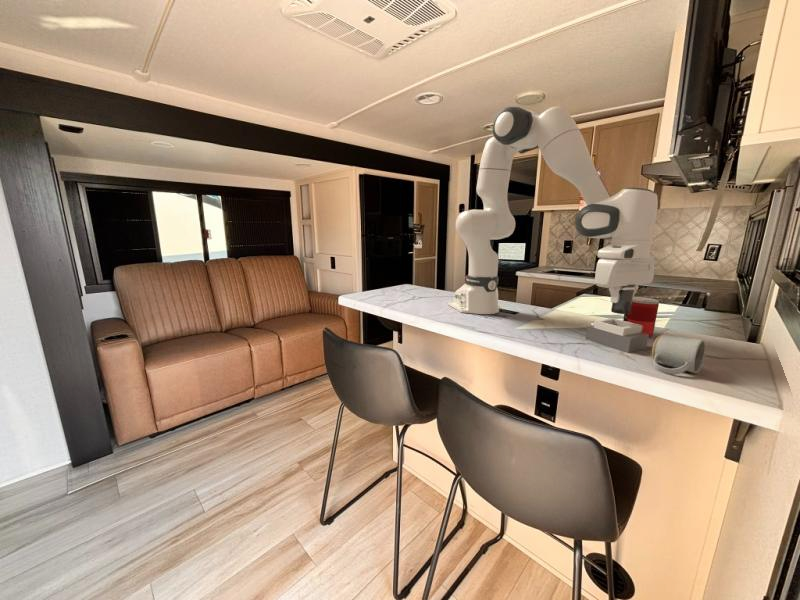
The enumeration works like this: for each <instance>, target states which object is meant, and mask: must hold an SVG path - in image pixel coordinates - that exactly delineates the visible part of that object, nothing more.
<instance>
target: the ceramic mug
mask: <svg viewBox="0 0 800 600" xmlns="http://www.w3.org/2000/svg"><path fill="white" fill-rule="evenodd" d="M705 353H706V342H705V340H704V339H701V338H700V339H699V338H693V337H687V336H679V335H673V334H659V335H658V336H657V337H656V338H655V340H654V342H653V344H652V349H651V357H652V359H653V366H654V368H655V369H656V370H657V371H658V372H661V373H664V374H666V375H667V374H668V375H680V374H682V373H684V372H688V373H691V374H696V373H698V372H699V371H700V370H701V368H702V366H703V363H704V358H705ZM659 364H661V365H663V366H661V365H659ZM664 366H667V367H664ZM669 367H671V368H669Z"/></svg>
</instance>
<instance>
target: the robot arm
mask: <svg viewBox="0 0 800 600" xmlns="http://www.w3.org/2000/svg"><path fill="white" fill-rule="evenodd" d="M492 134H493V136H492V137H490V138H488V140H487V141H486V142H485V145H484V148H483V152H482V155H481V158H480V164H479V169H478V177H477V183H476V188H475V189H476V190H475V191H476V194H477V195H478V197H480V199H481V201H482V204H483V209H469V210H465V211H462V212H460V213H459V214H458V216H457V218H456V220H455V231H456V233H457V235H458V237H460V238H461V239H462V240H463V243H465V244H464V245H466V249H467V254H468V274H467V275H463V276H464V278H463V279H465V281H464V284H463V285H462V286H461V287H459V288H457V290H456V291H455V292H454V295H453V296H454V297H453V300H452V301H448V303H447V305H448V306H450V307H452V308H453V309H455V310H456V311H458V312H460V313H463V314H464V313H465V314H477V315H493V314H494V315H495V314H498V313H499V312H500V308H501V307H500V305H499V289H498V287H497V286H498V285H499V276H498V272H499V271H498V270H499V255H498V253H497V252H496V251H494V250H493V248H492V245H491V240H502V239H505V238H509V237H510V236H511V235H513V233H514V231H515V230H516V229H515V228H516V220H515V219H516V218H515V217H514V216H513V214H512V213H511V211H510V206H509V203H508V202H509V201H508V192H509V191H508V190H509V183H510V178H511V171H512V166H513V165H512V164H513V160H514V157H515V155H516V154H518V153H519V154H522V155H523V154H526V153H527V152H528V153H529V152H530V151H534V150H538V149H539V150H540V153H541V156H542V159H544V161H545V163H546V164H547V166H548V167H549V169H550V170H551V172H553V174H555V175H556V176H558V177H561V178H563V179H565V180H566V181H568V182H569V183H570V184H572V185H574V186H575V188H576V189H577V190H578V192H579V194H580V196H581V197H582V199H583V200H584V203H585V204H586V205H585V206H584V207H582V208H581V209H580V210H579V211H578V212H577V214H576V216H575V218H574V219H575V220H574V226H575V229H576V232H577V233H578V234H579V235H581V236H583V237H586V238H589V239H601V240H602V239H603V240H606V241H607V240H608V241H609V240H610V241H611V242H610V243H609V244H608V245H606V246H604V247H602V248H600V249H599V250H598V251H597V258H599V259H598V261H597V262H596V267H595V276H594V283H595V285H596V287H600V288H605V289H606V288H607V289H608V291H609V294H610V302H611V303H612V302H614V303H618V302H620V301H621V300H620V299H621V296H619V291H620V288H621V287H622V286H628V285H635V290H634V294H633V299H634V297H635V294H637V291H638V289H639V287H640V286H639V285H648V284H649V285H650V284H651V283H652V282H653V280H654V277H655V266H656V263H655V259H654V257H653V254H652V252H651V251H652V246H653V229H654V226H655V225H656V221H657V217H658V205H659V202H658V201H659V200H658V194H657V193H656V192H655V191H654V190H651V189H649V188H644V187H643V188H642V187H626V188H623V189H621V190H620V191H618V192H617V193H616V194H614V195H611V194H610V192H609V191H608V188H607V187H606V184H605V183H604V181H603V180H602V178H601V176H600V174H599V173H598V171H597V169H596V166H595V163H594V161H593V159H592V157H591V153H590V152H589V148H588V146H587V143H586V141H585V138H584V137H583V134H582V132H581V130H580V128H579V125H578V124H577V123H576V121H575V120H574V118H573V117H572V115H570V113H569V111H567V110H566V109H565V108H564V107H562V106H558V105H557V106H552V107H549V108H547V109H546V110H544V111H543V112H542V113H539V114H538V113H537V112H535V111H533V110H530V109H525V108H522V107H520V106H509V107H505V108H503V109H501V110H500V111H499V112H498V113H497V115H496V116H495V118H494V121H493V124H492Z"/></svg>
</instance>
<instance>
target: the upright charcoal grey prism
mask: <svg viewBox="0 0 800 600" xmlns="http://www.w3.org/2000/svg"><path fill="white" fill-rule="evenodd" d="M634 290H635V285H628V286H622V287H621V288H620V291H619V296H621V299H620V300H621V301H620V302H618V303H614V302H611V303H612V305H611V311H610V312H612V313H614V314H617V315H624V314H630V312H631V306H632V300H633V294H634Z"/></svg>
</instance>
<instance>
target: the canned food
mask: <svg viewBox="0 0 800 600" xmlns="http://www.w3.org/2000/svg"><path fill="white" fill-rule="evenodd" d="M659 305H660V301H659V300H658V299H655V298H650V297H644V296H643V297H642V296H634V299H633V300H632V306H631V312H630V314H623V318H622V321H626V322H630V323H634V324H639V325H642V328H641V332H642V333H645V334H649V336H648V338H649V337H651V336H652V335H653V334H654V331H655V326H656V322H657V321H656V320H657V315H658V311H659Z"/></svg>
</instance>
